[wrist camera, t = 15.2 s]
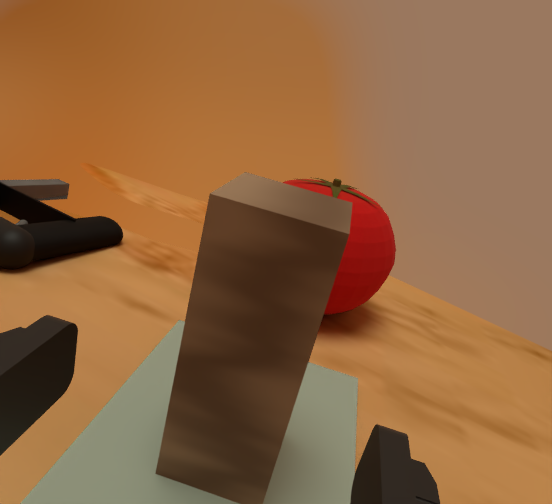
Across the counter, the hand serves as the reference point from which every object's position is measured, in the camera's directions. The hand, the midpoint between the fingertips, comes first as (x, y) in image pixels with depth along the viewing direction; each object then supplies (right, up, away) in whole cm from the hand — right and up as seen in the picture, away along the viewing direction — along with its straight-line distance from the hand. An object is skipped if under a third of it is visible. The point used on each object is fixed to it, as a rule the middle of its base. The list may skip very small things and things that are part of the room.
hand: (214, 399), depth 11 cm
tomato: (+4, 0, +27) cm, 27 cm away
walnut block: (-1, -5, +9) cm, 10 cm away
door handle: (-22, +7, +28) cm, 36 cm away
